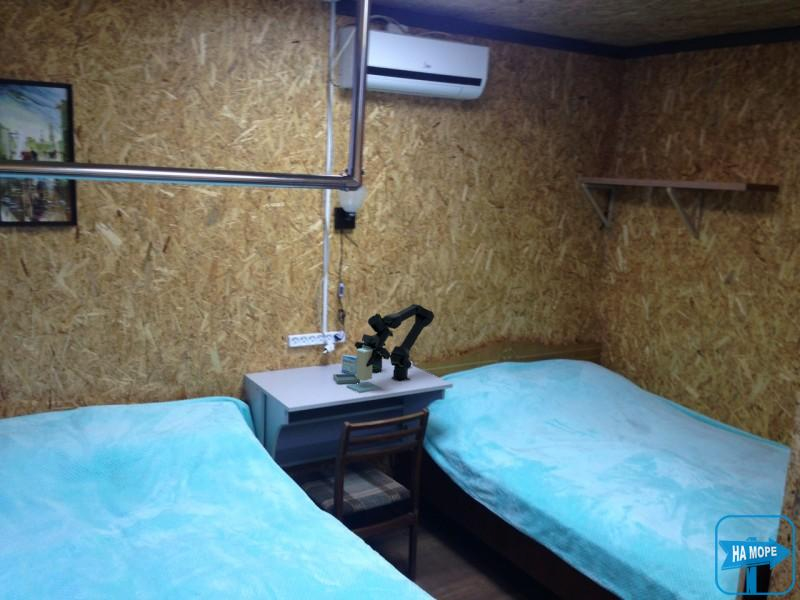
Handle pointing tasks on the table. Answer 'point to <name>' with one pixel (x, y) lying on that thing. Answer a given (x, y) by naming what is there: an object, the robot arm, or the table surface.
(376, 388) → the slate board
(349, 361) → the medicine box
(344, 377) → the charcoal tray
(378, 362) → the storage jar
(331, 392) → the table surface
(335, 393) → the table surface
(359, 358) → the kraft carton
